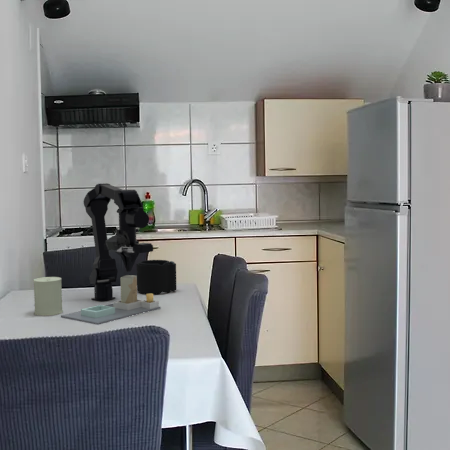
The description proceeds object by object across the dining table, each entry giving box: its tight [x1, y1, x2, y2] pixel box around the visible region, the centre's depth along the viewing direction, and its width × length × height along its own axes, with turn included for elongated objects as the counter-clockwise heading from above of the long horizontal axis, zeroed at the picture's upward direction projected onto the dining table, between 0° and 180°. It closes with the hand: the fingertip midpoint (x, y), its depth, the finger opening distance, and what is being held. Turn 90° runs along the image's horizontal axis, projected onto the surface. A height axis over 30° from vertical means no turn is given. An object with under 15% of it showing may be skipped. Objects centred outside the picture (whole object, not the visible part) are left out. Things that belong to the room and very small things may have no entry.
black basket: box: [136, 259, 177, 296], centre depth 241 cm, size 14×15×12 cm
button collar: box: [141, 299, 160, 309], centre depth 209 cm, size 4×4×2 cm
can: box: [32, 276, 64, 317], centre depth 205 cm, size 9×9×12 cm
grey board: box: [60, 298, 161, 326], centre depth 204 cm, size 18×28×3 cm, turn 143°
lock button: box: [145, 293, 155, 303], centre depth 209 cm, size 2×2×3 cm
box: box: [120, 274, 138, 304], centre depth 210 cm, size 5×4×11 cm
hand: (128, 271), depth 210 cm, fingers closed
